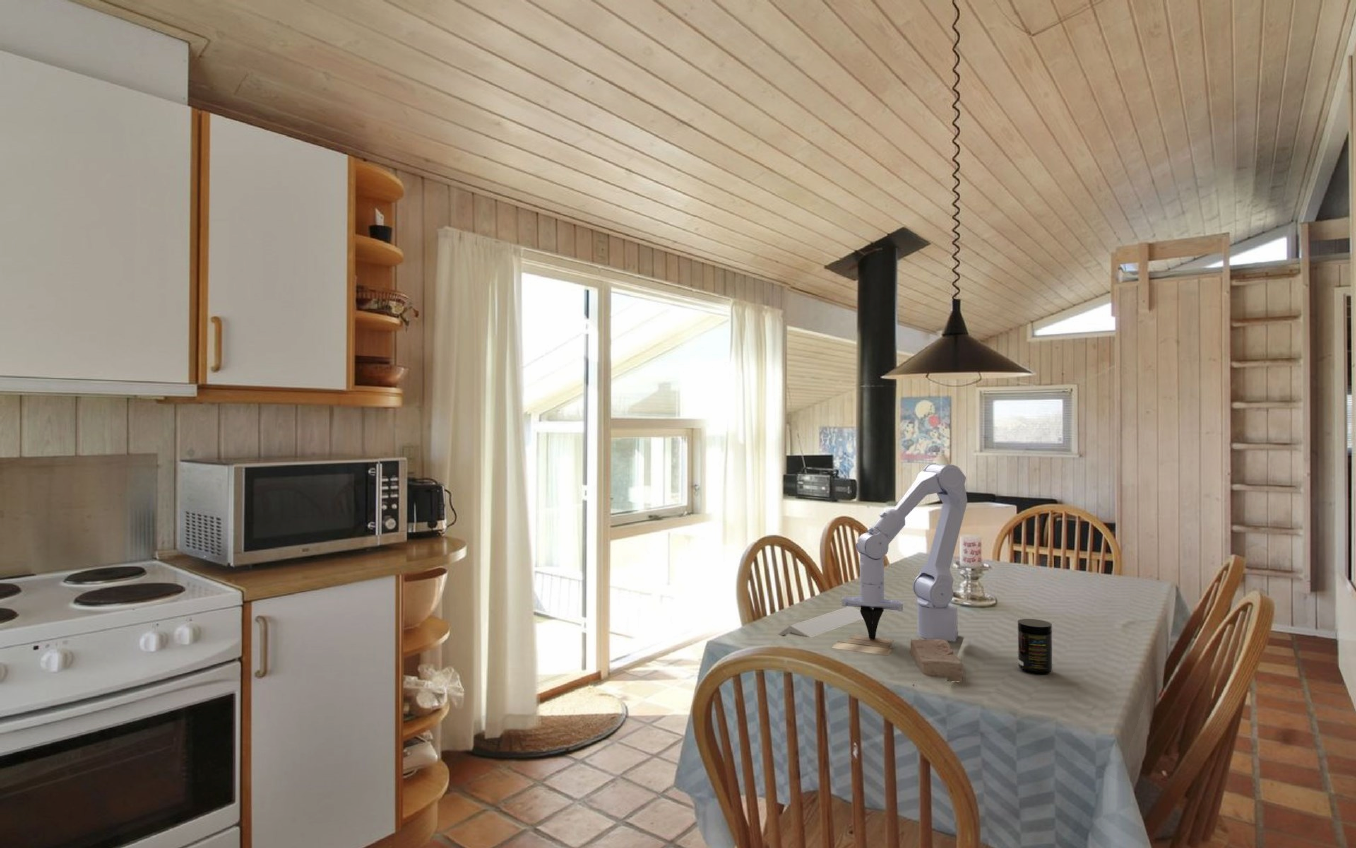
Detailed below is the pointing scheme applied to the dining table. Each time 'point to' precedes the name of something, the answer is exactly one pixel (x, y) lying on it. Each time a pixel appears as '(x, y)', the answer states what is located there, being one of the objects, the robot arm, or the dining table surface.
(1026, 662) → the supplement container
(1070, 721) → the dining table surface
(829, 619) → the crown molding
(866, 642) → the plank
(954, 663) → the brick
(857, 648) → the floor strip
